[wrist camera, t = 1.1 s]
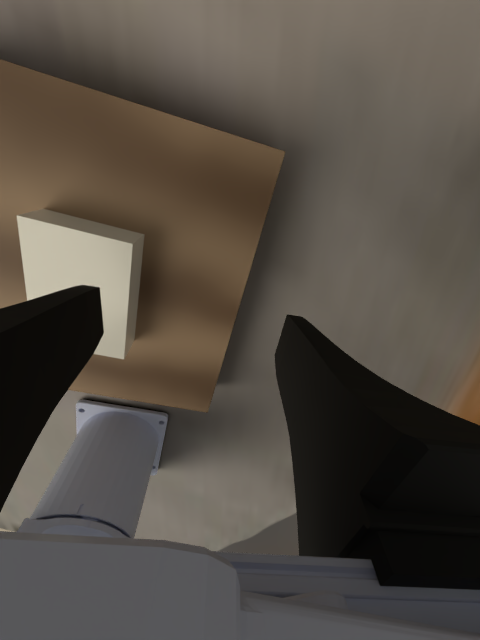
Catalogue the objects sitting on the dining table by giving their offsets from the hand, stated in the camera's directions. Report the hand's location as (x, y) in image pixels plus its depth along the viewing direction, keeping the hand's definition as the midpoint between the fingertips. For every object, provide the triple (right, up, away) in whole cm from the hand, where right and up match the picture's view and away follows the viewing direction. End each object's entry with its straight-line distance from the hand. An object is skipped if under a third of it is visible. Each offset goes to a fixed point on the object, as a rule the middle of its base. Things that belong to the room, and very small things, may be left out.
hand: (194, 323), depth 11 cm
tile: (-7, +2, +5) cm, 9 cm away
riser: (-6, +4, +8) cm, 11 cm away
